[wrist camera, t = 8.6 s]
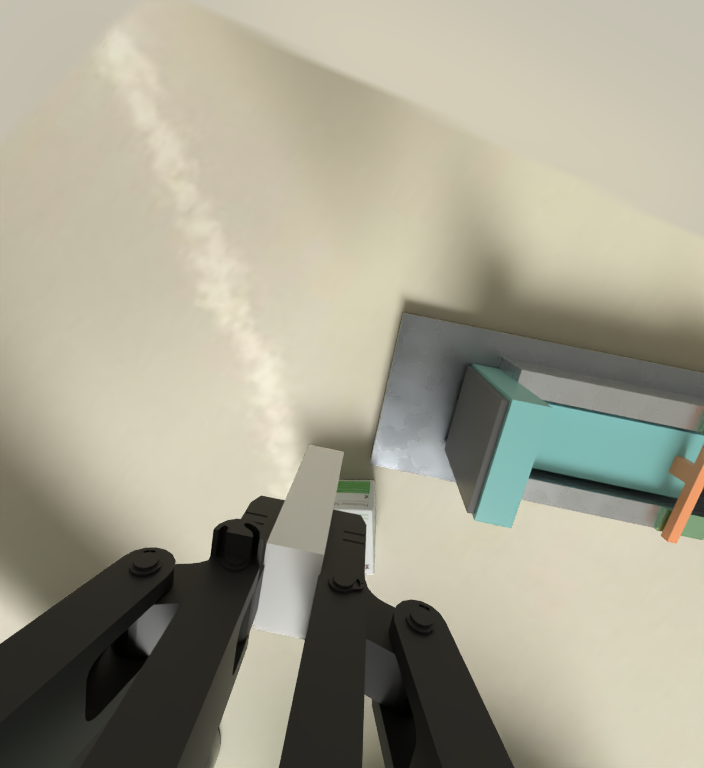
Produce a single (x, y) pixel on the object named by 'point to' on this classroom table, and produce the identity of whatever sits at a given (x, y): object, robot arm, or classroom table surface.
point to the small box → (360, 511)
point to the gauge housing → (549, 382)
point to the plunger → (561, 449)
